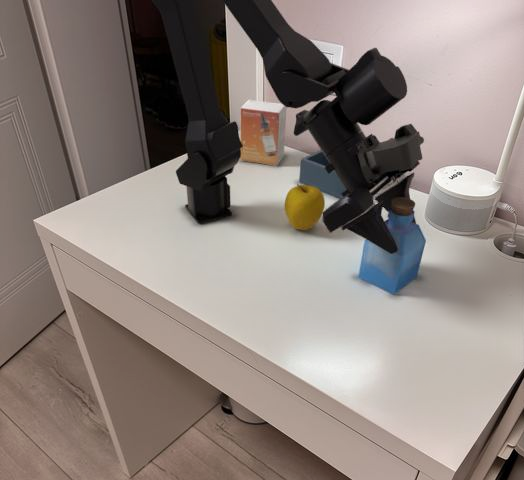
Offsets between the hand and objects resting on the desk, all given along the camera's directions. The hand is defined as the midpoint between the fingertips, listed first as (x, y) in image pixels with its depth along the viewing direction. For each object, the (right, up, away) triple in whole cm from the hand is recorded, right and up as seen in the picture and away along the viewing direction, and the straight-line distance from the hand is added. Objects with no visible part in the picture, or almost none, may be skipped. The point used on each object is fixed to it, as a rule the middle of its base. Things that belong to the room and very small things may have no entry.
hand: (404, 241), depth 74 cm
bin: (-5, +17, +28) cm, 34 cm away
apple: (-13, +5, +16) cm, 21 cm away
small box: (-20, +24, +36) cm, 48 cm away
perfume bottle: (-1, -4, +5) cm, 7 cm away
